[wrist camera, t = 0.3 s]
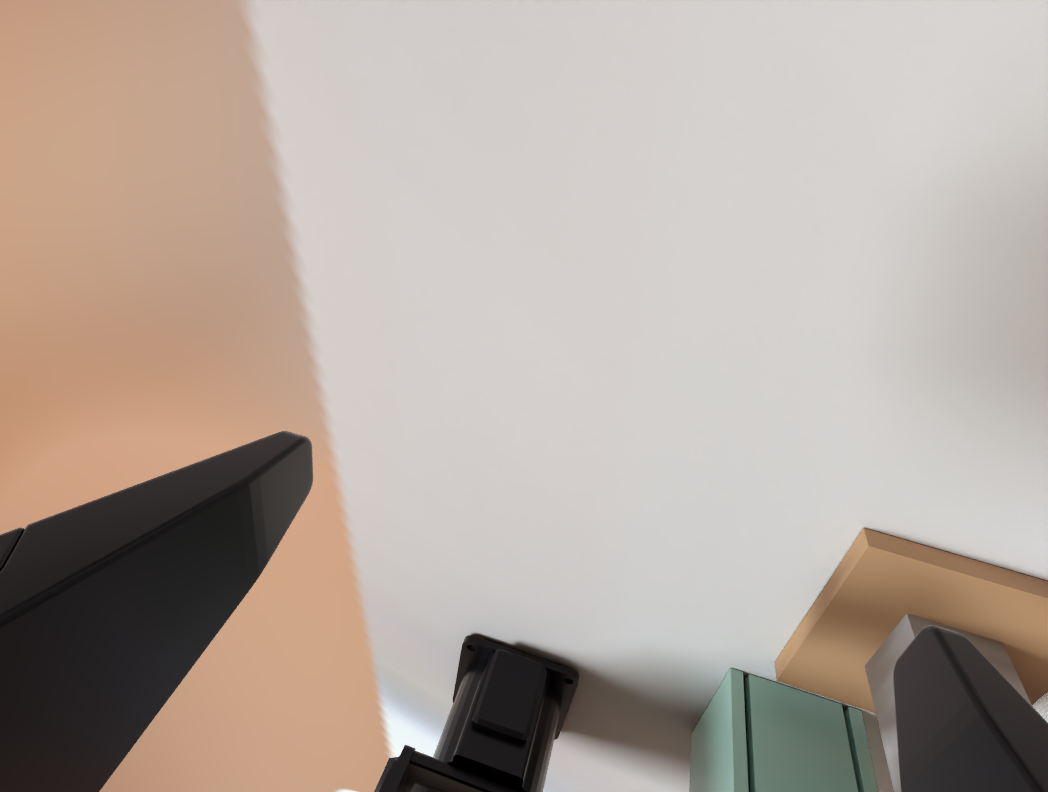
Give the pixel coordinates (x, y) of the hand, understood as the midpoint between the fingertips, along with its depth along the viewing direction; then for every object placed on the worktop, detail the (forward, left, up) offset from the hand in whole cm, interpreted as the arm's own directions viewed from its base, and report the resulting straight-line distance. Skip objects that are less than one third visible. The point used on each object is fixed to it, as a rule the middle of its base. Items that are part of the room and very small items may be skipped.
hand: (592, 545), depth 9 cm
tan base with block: (-13, -15, -14) cm, 25 cm away
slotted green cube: (-22, -12, -14) cm, 29 cm away
